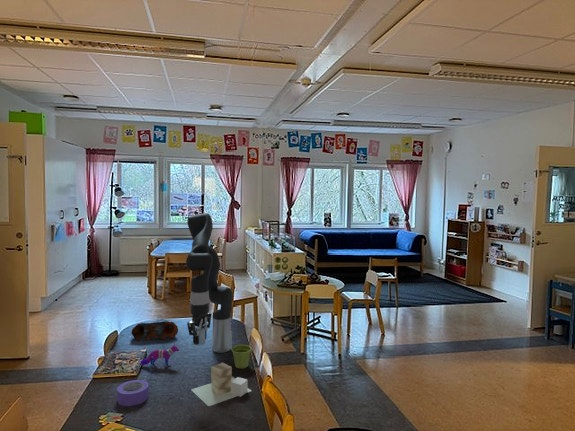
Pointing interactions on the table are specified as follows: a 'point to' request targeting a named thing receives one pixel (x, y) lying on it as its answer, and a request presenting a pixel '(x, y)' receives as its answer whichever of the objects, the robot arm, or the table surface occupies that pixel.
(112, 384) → the table surface
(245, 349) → the plant pot
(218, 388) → the tower base
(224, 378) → the tower top
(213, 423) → the table surface
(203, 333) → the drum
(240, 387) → the block
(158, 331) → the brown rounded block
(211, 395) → the mat
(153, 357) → the toy dog
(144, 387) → the tape roll
